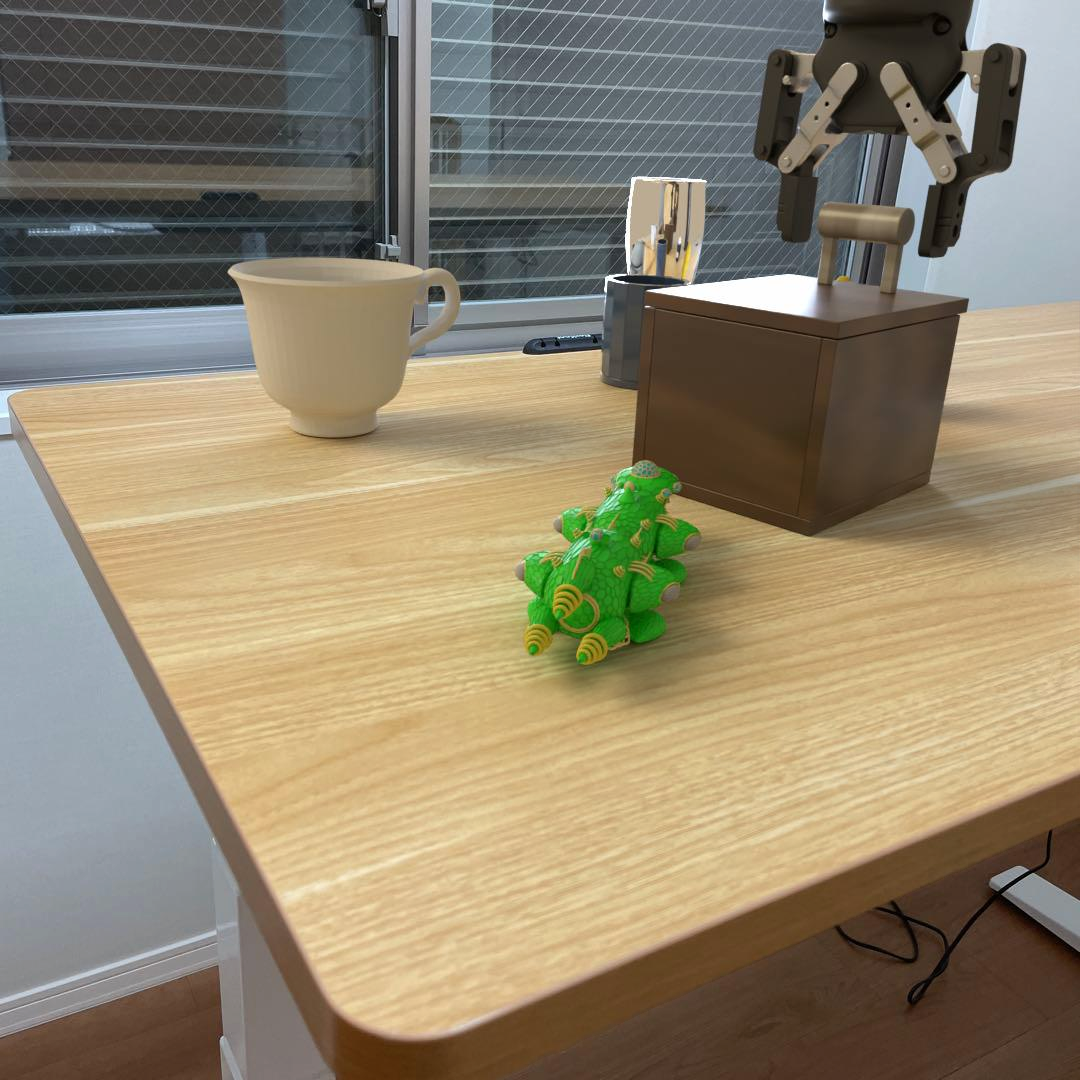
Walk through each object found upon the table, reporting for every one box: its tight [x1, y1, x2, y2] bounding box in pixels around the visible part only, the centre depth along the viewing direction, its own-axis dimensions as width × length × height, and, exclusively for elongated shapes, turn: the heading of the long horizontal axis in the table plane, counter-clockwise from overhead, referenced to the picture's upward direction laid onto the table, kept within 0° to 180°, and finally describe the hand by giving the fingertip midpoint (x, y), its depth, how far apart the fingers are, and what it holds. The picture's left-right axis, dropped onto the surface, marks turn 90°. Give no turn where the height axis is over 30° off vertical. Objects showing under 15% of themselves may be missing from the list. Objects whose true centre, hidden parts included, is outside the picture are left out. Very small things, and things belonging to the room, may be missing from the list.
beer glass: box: [625, 176, 707, 285], centre depth 94 cm, size 7×7×15 cm
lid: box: [644, 201, 970, 339], centre depth 56 cm, size 14×12×5 cm
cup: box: [599, 273, 692, 390], centre depth 82 cm, size 7×7×8 cm
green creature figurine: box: [514, 460, 702, 666], centre depth 43 cm, size 7×18×4 cm, turn 164°
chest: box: [631, 306, 961, 536], centre depth 58 cm, size 14×12×10 cm
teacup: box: [227, 257, 461, 438], centre depth 66 cm, size 12×15×10 cm
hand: (859, 249), depth 59 cm, fingers open, 8 cm apart
